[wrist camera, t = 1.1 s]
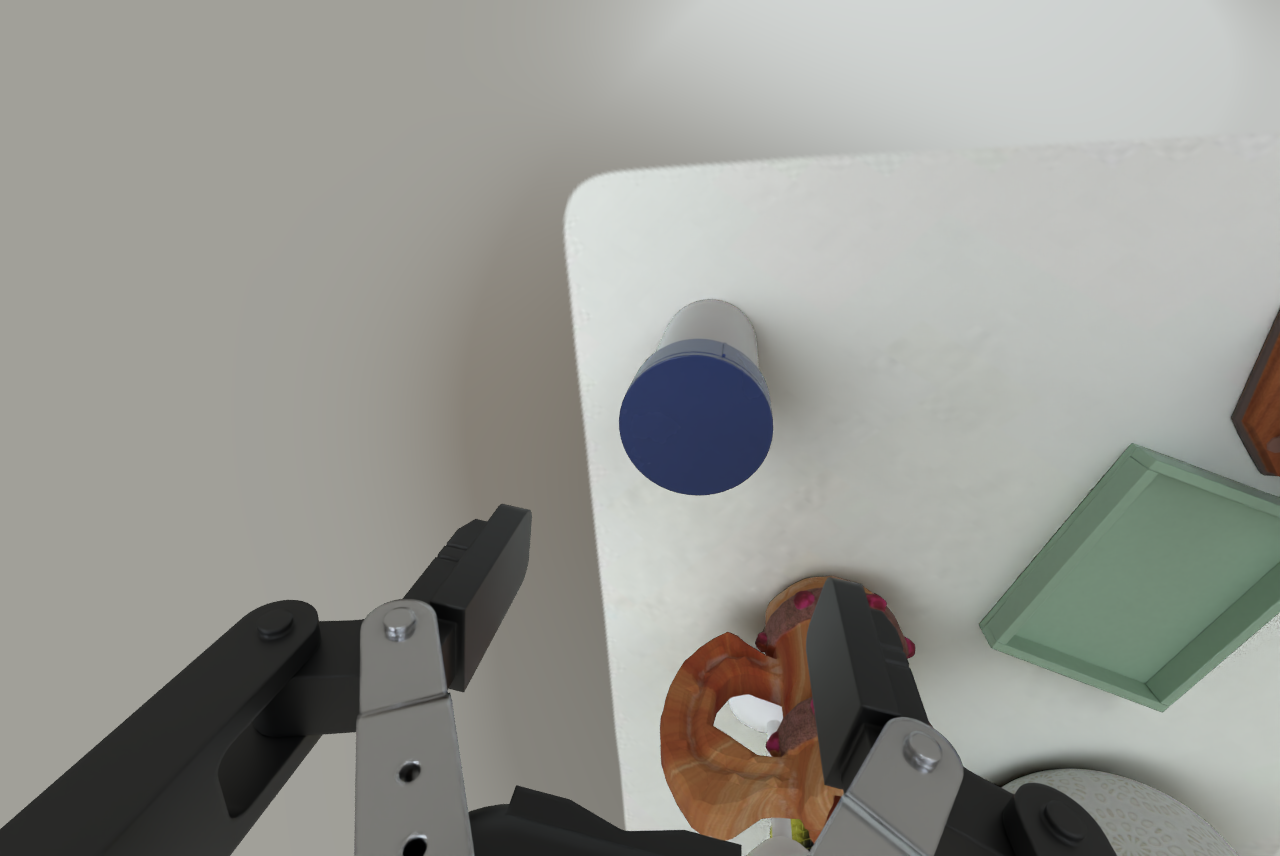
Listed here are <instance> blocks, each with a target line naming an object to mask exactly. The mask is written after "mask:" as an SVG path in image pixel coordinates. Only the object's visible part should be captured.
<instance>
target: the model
mask: <svg viewBox="0 0 1280 856" xmlns="http://www.w3.org/2000/svg"><path fill="white" fill-rule="evenodd" d="M1232 421H1233V423H1234V425H1235V427H1236V429H1237V431H1238V433H1239V435H1240V437H1241V439H1242V441H1243V443H1244V445H1245V447H1246V449H1247V451H1248V452H1249V454H1250V456H1251V457H1252V459H1253V461H1254V463H1255V464H1256V466H1257V468H1258V470H1259V471H1260V473H1261V474H1263V475H1269V476H1279V477H1280V311H1279V313H1278V315H1277V317H1276V319H1275V322H1274V324H1273V326H1272V328H1271V330H1270V333H1269V335H1268V337H1267V339H1266V341H1265V344H1264V346H1263V348H1262V350H1261V353H1260V355H1259V357H1258V359H1257V361H1256V364H1255V366H1254V368H1253V370H1252V373H1251V375H1250V377H1249V379H1248V382H1247V384H1246V386H1245V388H1244V390H1243V393H1242V395H1241V397H1240V399H1239V402H1238V404H1237V406H1236V408H1235V411H1234V413H1233V415H1232Z"/></svg>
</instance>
